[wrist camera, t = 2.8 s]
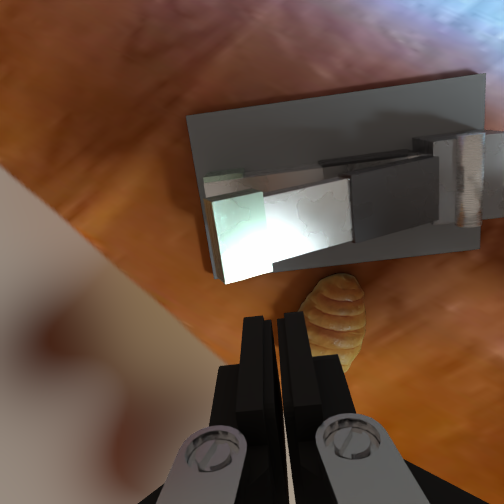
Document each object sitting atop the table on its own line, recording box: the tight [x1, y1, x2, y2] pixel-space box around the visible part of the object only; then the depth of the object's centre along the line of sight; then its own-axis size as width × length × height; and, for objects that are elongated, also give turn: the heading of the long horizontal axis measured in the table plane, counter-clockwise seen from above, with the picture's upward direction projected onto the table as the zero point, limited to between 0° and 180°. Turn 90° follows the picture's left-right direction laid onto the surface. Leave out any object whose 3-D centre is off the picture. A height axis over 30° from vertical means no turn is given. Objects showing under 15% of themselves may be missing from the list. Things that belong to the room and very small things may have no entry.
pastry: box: [297, 273, 366, 373], centre depth 39 cm, size 9×7×4 cm
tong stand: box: [203, 129, 504, 228], centre depth 33 cm, size 22×6×5 cm, turn 98°
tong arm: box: [203, 155, 439, 284], centre depth 27 cm, size 16×5×2 cm, turn 97°
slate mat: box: [186, 73, 486, 279], centre depth 36 cm, size 23×14×1 cm, turn 98°
